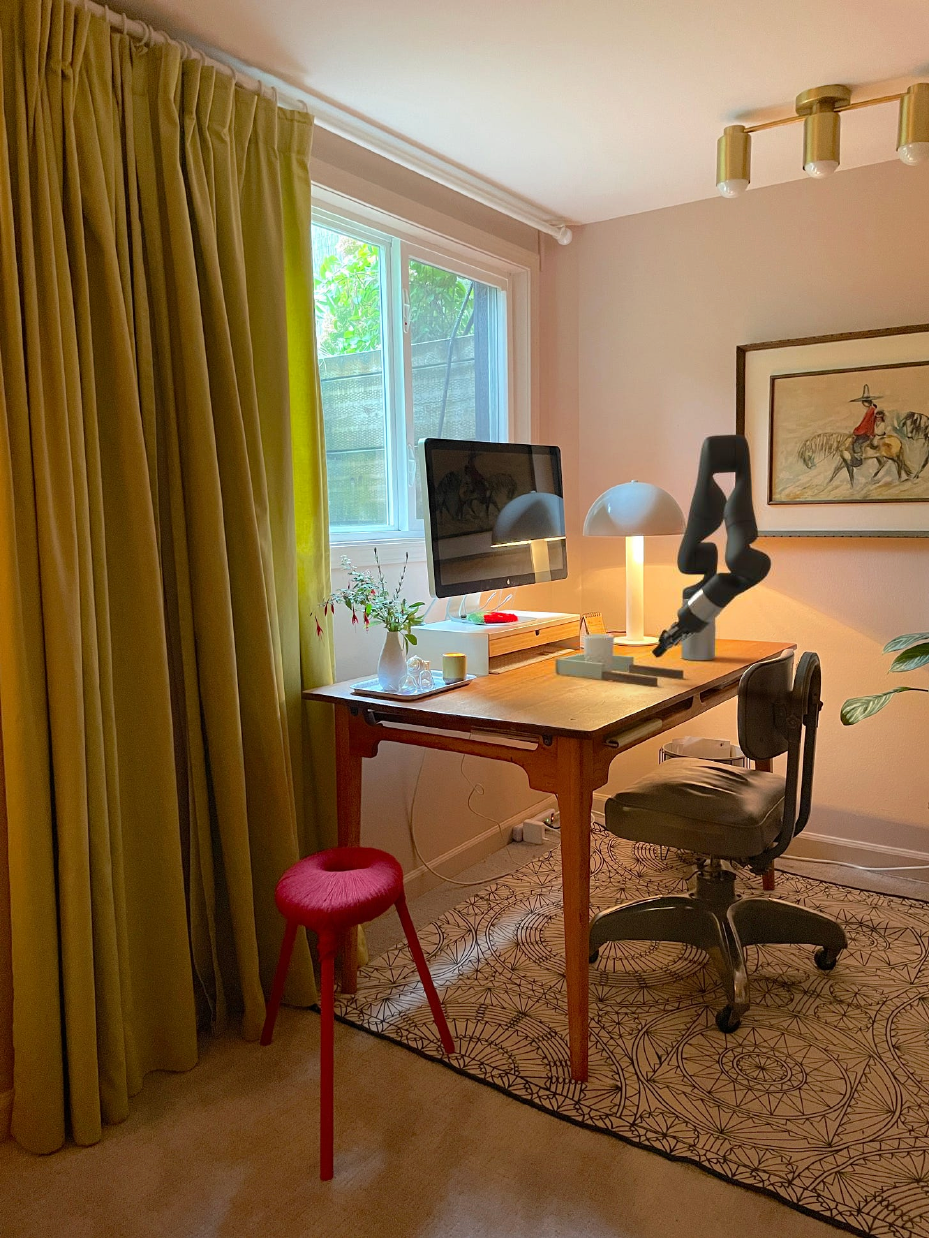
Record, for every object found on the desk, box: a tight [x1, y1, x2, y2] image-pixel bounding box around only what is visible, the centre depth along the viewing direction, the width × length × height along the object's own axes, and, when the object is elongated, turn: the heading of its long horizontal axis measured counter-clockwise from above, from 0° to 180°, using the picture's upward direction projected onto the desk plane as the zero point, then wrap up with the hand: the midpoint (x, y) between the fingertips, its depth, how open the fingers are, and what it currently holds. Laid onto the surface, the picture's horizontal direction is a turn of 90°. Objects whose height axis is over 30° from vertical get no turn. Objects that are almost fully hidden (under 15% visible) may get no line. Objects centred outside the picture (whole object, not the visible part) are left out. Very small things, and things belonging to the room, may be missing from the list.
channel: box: [601, 664, 684, 687], centre depth 239 cm, size 15×15×2 cm
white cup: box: [583, 633, 615, 672], centre depth 247 cm, size 8×8×10 cm
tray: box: [555, 652, 635, 681], centre depth 248 cm, size 15×14×4 cm
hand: (655, 654), depth 236 cm, fingers closed
